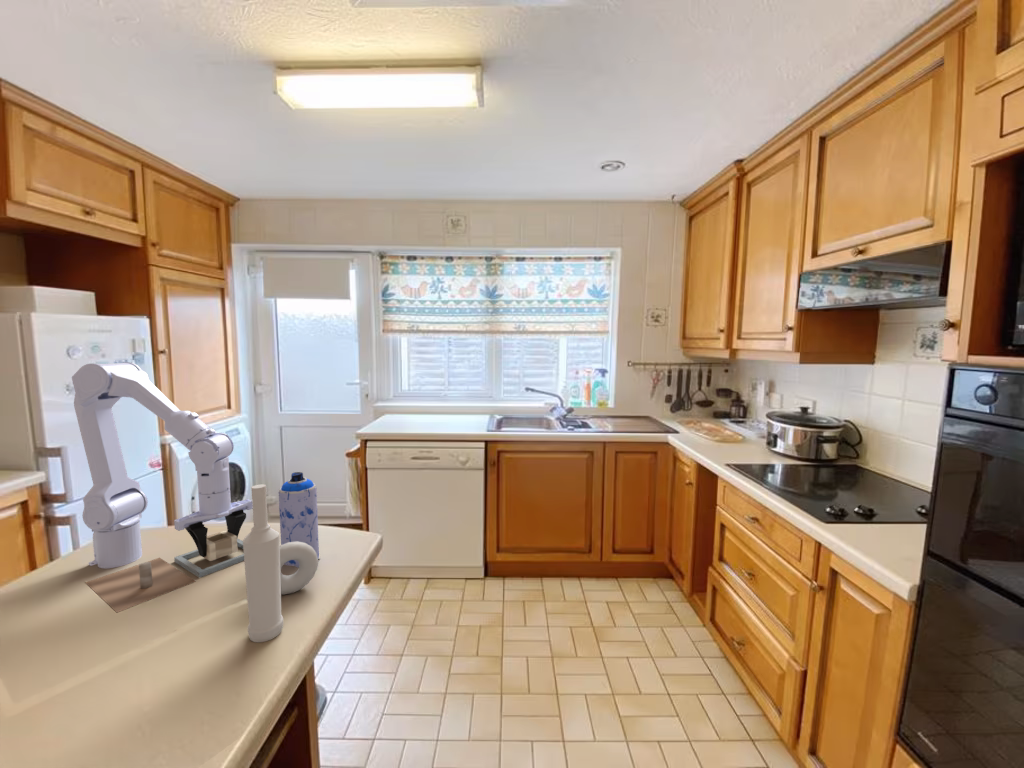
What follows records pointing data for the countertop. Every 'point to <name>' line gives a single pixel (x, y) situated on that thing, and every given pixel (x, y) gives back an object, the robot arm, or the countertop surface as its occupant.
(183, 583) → the stake board
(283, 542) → the aerosol can
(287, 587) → the donut
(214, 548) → the hollow wooden block
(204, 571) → the tray
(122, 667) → the countertop surface
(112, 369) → the robot arm
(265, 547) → the bottle
